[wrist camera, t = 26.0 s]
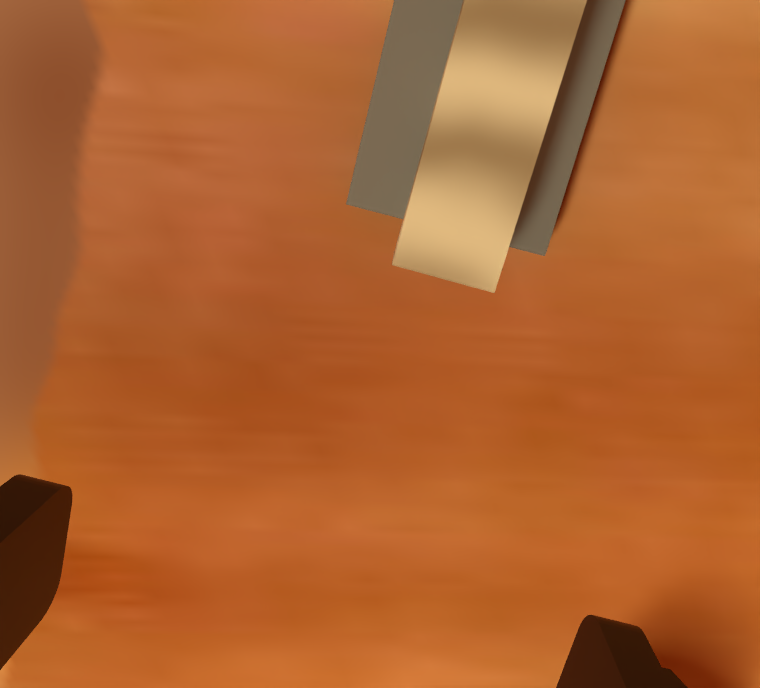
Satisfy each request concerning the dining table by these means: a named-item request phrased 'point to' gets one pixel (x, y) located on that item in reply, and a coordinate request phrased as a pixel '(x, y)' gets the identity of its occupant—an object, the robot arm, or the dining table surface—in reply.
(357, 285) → the dining table surface
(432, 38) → the board
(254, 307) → the dining table surface
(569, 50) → the bar
